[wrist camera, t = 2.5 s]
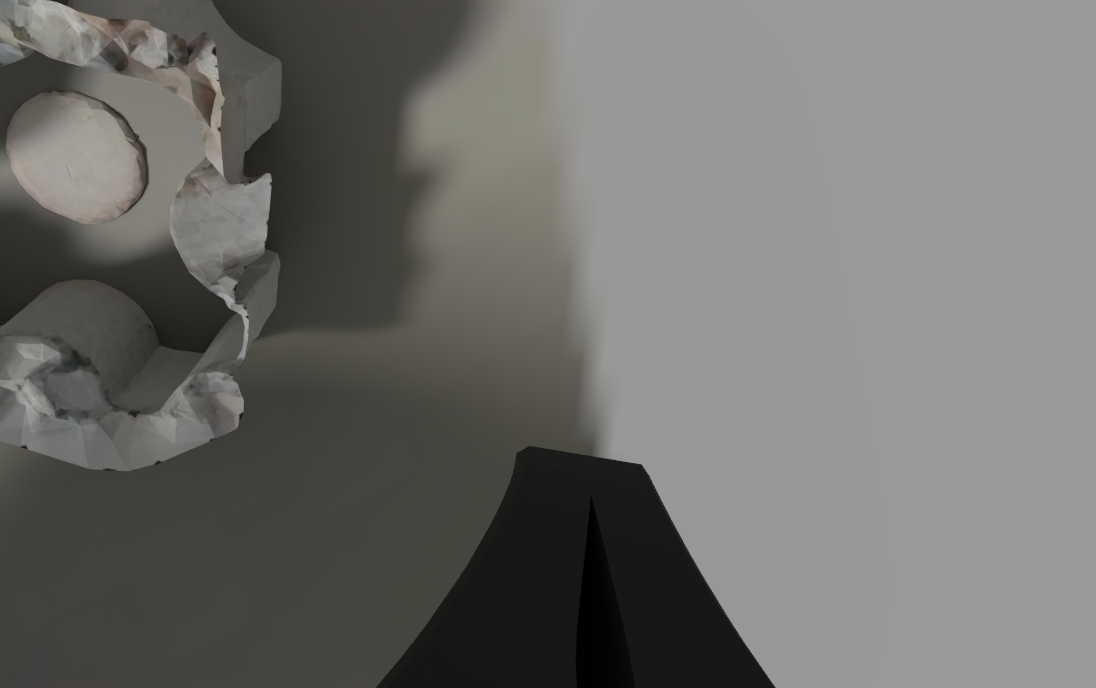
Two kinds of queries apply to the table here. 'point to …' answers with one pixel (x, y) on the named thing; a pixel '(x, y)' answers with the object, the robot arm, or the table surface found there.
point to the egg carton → (106, 193)
